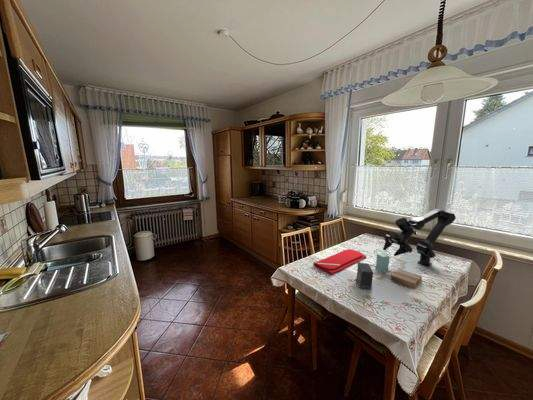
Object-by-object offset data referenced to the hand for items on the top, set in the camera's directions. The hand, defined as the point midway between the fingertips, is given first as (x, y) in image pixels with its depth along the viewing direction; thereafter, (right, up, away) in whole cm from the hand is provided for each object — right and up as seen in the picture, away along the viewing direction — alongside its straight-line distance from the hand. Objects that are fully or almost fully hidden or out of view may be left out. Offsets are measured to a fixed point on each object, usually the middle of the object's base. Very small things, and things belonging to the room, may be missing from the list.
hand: (388, 252), depth 142 cm
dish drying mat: (-27, -10, +12) cm, 31 cm away
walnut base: (+3, -13, -12) cm, 18 cm away
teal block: (-4, -11, +1) cm, 12 cm away
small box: (-22, -14, -15) cm, 31 cm away
